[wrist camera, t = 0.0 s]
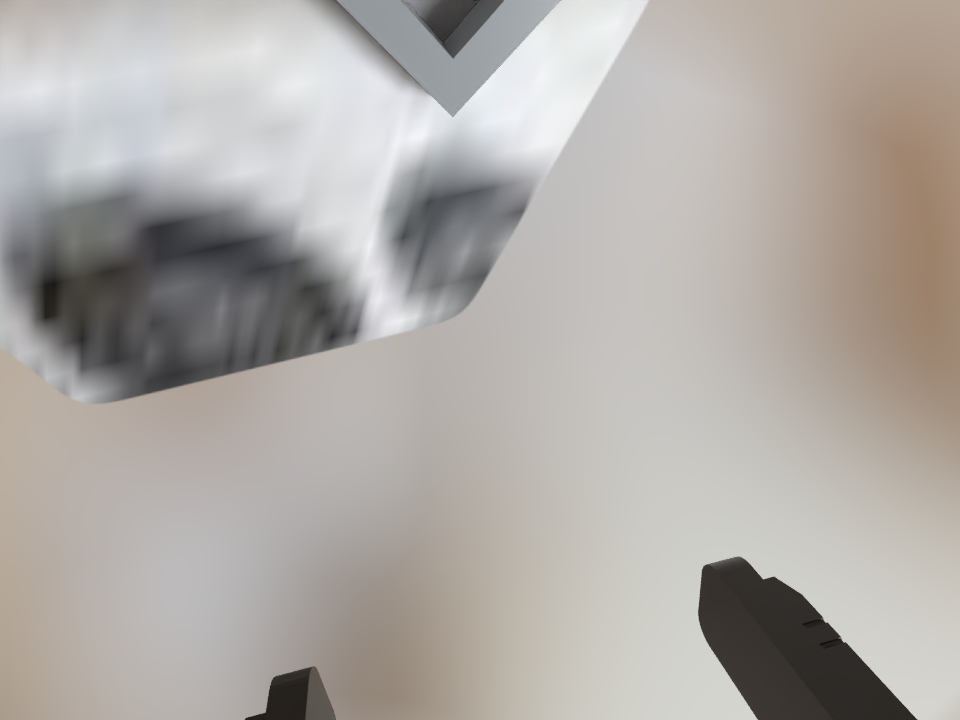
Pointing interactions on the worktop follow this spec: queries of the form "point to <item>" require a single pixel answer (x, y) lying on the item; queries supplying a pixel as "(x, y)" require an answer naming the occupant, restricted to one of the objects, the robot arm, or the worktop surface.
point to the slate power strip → (451, 42)
